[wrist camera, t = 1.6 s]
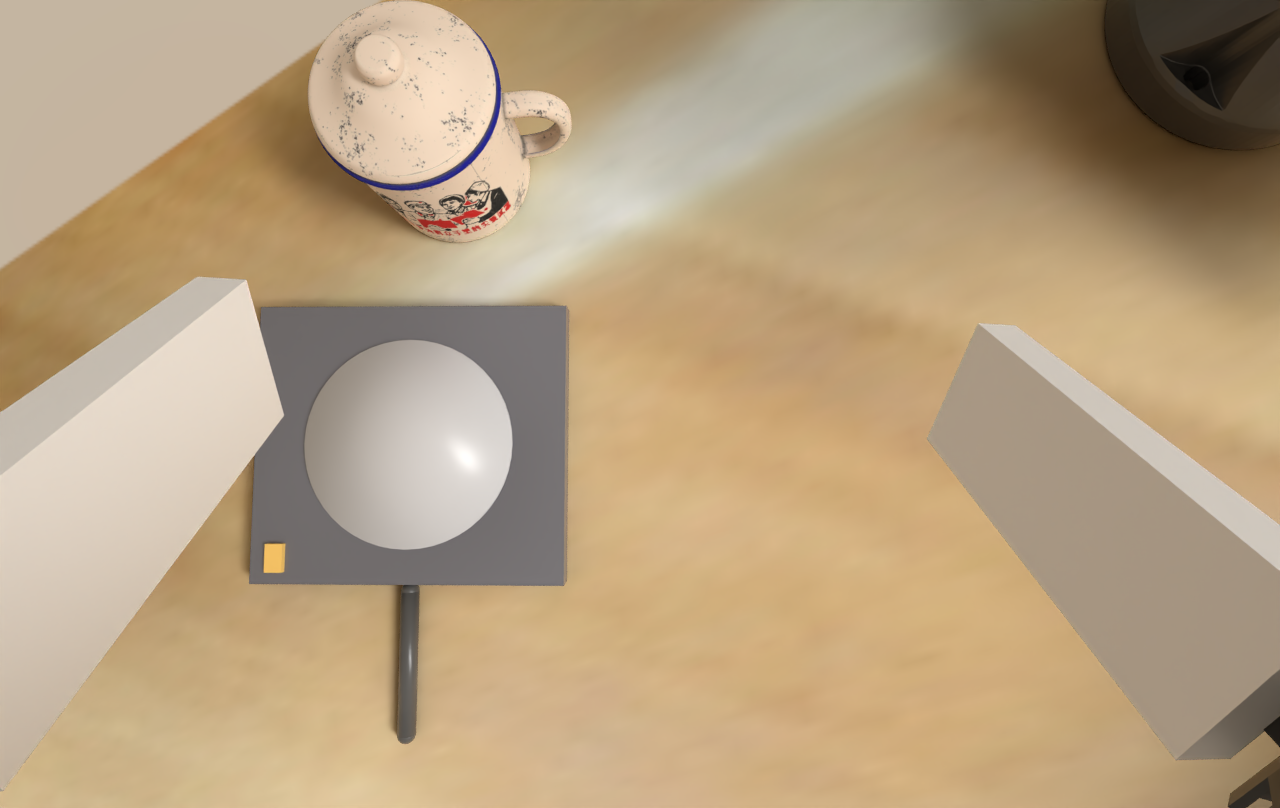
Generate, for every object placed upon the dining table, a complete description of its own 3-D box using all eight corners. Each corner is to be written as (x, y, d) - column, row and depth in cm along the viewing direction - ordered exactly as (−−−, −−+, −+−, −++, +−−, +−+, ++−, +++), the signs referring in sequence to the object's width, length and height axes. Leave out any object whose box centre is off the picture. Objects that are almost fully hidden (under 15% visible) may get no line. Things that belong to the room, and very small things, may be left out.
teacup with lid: (392, 255, 37) (271, 167, 25) (384, 112, 37) (262, -39, 26) (588, 236, 36) (558, 139, 25) (576, 93, 37) (541, -68, 25)
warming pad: (273, 311, 36) (257, 305, 35) (569, 310, 36) (565, 304, 35) (256, 737, 35) (238, 750, 33) (565, 740, 34) (561, 753, 33)
